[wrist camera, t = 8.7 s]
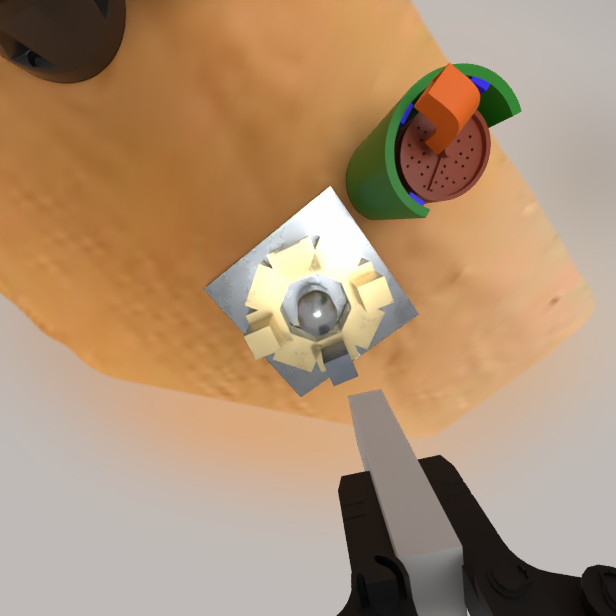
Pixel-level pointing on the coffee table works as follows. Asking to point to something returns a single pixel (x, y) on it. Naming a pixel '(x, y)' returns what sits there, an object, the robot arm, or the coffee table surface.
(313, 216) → the flange plate
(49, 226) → the coffee table surface
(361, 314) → the ring nut
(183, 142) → the coffee table surface
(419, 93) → the motor
